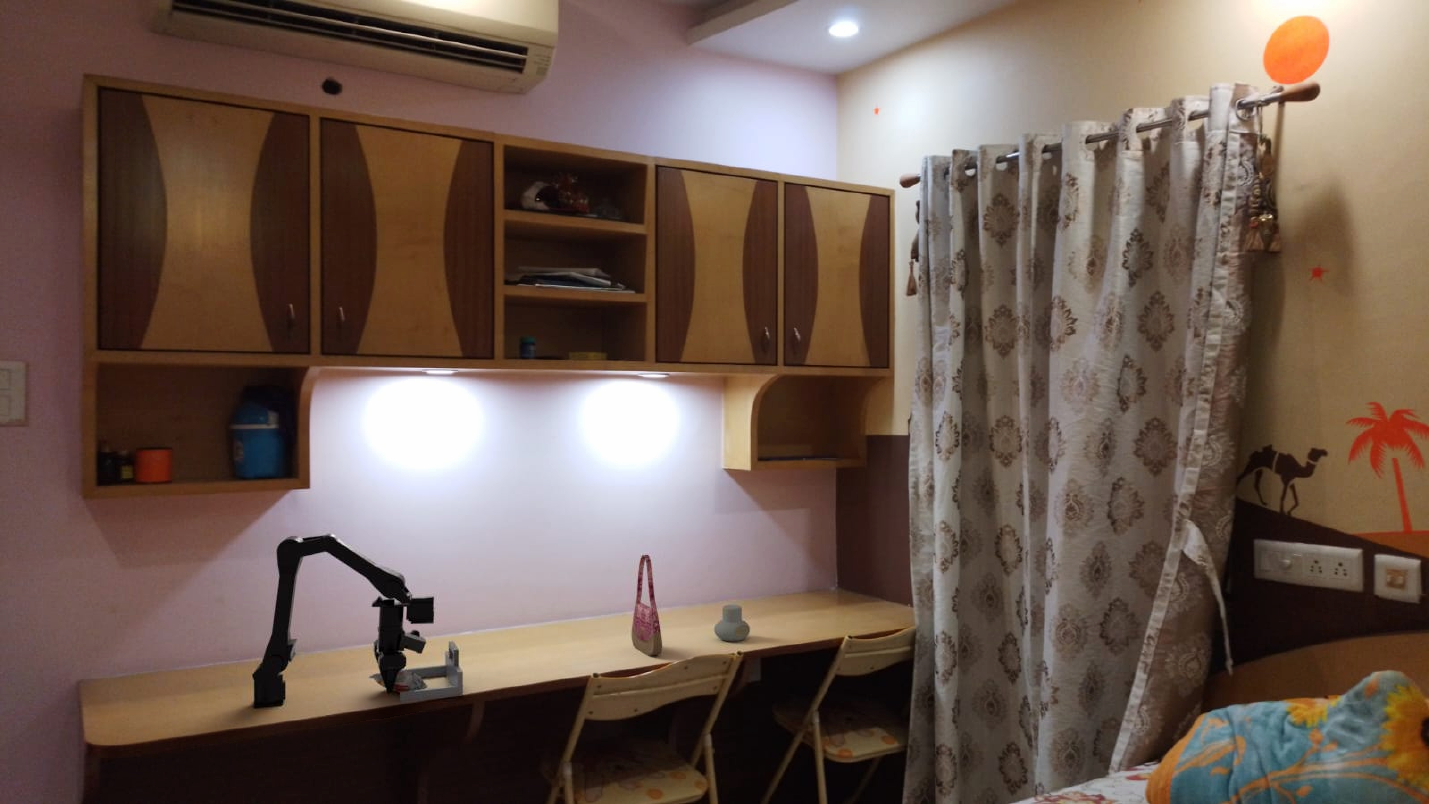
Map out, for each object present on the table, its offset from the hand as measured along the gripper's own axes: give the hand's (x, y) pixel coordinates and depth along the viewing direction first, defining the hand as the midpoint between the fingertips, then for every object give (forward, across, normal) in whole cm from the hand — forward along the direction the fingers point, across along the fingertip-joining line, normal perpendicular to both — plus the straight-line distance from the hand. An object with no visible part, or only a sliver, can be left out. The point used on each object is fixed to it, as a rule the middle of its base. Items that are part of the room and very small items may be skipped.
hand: (387, 687), depth 236 cm
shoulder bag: (-1, +13, -72) cm, 74 cm away
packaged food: (+2, -1, +2) cm, 3 cm away
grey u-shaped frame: (+1, +2, -9) cm, 9 cm away
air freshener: (-2, +16, -101) cm, 102 cm away
